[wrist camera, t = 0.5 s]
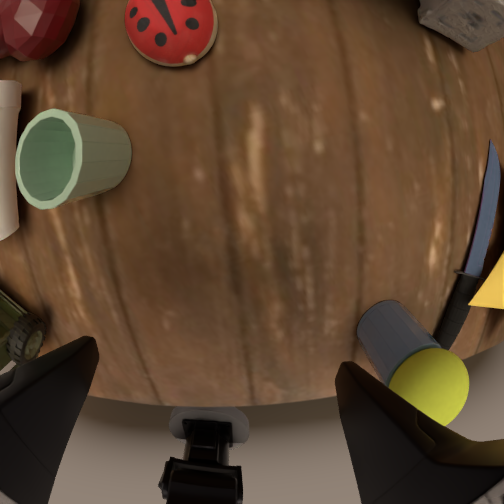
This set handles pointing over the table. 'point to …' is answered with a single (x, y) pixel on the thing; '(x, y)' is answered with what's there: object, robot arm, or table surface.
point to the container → (391, 337)
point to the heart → (35, 27)
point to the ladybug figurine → (171, 29)
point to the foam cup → (8, 155)
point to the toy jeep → (19, 334)
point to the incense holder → (465, 20)
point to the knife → (473, 256)
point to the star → (492, 288)
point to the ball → (433, 383)
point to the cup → (70, 158)
